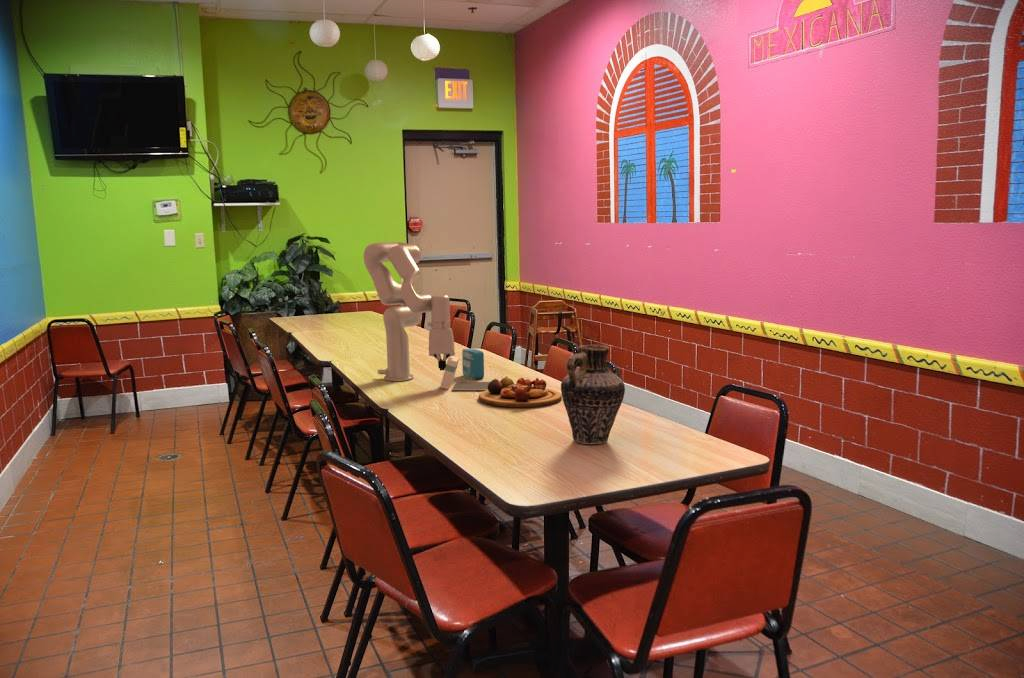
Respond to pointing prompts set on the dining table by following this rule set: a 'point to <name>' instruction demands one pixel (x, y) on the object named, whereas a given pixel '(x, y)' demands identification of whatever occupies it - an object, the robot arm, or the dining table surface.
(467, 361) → the data package
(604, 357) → the jug
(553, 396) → the wooden plate with food
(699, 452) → the dining table surface
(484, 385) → the mat
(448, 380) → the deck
